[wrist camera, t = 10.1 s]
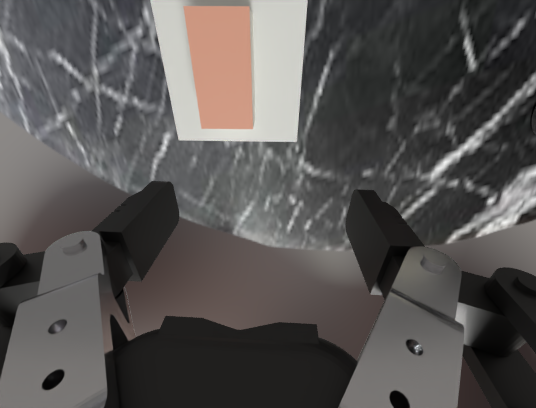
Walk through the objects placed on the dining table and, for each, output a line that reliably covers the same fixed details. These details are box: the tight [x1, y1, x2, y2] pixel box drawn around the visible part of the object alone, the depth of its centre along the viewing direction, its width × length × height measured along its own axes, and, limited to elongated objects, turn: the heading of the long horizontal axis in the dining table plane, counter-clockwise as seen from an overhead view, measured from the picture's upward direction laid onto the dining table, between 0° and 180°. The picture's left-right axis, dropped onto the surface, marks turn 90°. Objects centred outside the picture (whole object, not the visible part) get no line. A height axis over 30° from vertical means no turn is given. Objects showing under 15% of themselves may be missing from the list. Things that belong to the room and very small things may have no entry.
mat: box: [151, 0, 307, 142], centre depth 25 cm, size 15×15×1 cm
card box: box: [183, 6, 255, 129], centre depth 23 cm, size 10×6×4 cm, turn 0°
